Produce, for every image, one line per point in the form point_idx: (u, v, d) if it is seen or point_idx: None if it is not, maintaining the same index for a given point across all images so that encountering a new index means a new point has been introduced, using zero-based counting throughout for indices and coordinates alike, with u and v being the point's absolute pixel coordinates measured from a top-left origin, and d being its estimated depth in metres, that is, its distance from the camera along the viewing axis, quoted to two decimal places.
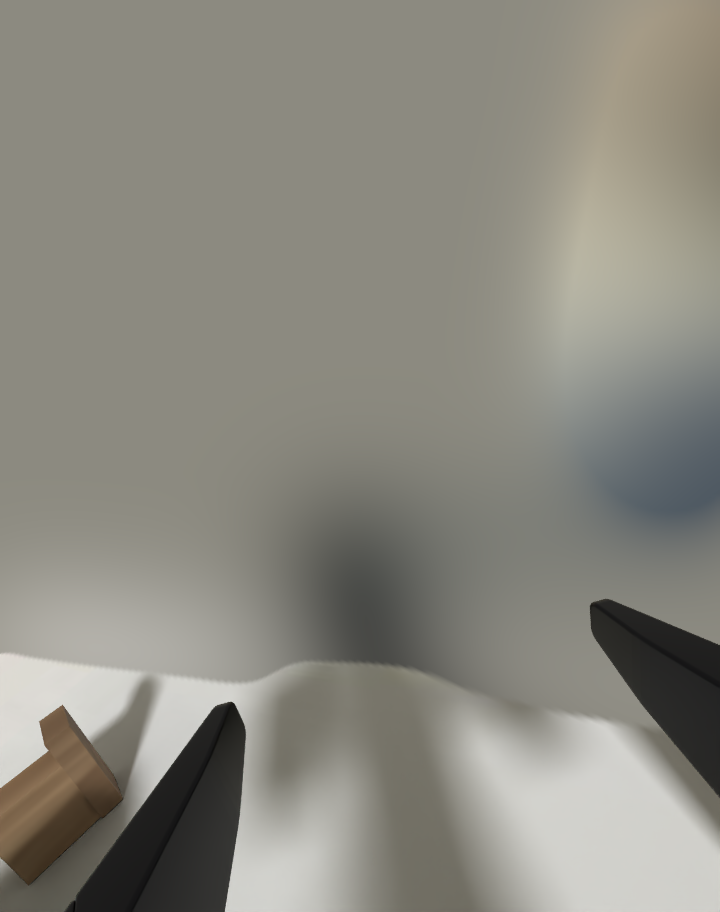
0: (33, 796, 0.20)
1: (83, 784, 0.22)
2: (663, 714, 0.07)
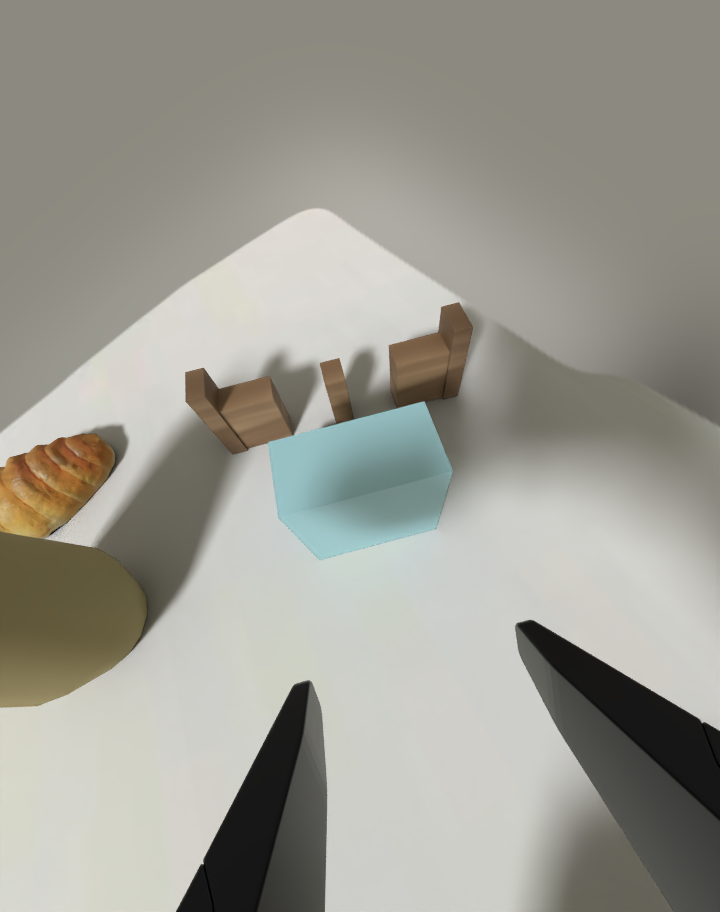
0: (427, 362, 0.25)
1: (450, 373, 0.26)
2: (573, 740, 0.07)
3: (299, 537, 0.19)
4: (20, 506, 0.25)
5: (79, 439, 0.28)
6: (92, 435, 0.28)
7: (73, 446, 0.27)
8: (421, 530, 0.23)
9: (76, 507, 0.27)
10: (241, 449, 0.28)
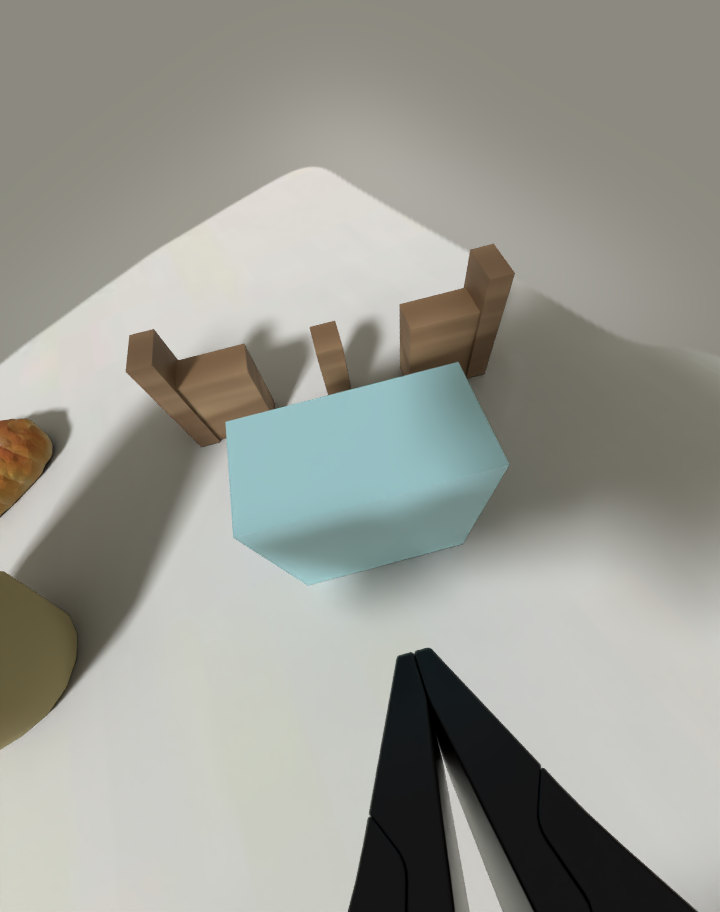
0: (450, 325, 0.19)
1: (479, 341, 0.20)
2: (451, 774, 0.07)
3: (274, 561, 0.13)
4: None
5: (3, 425, 0.22)
6: (22, 420, 0.23)
7: None
8: (443, 546, 0.18)
9: None
10: (212, 440, 0.22)
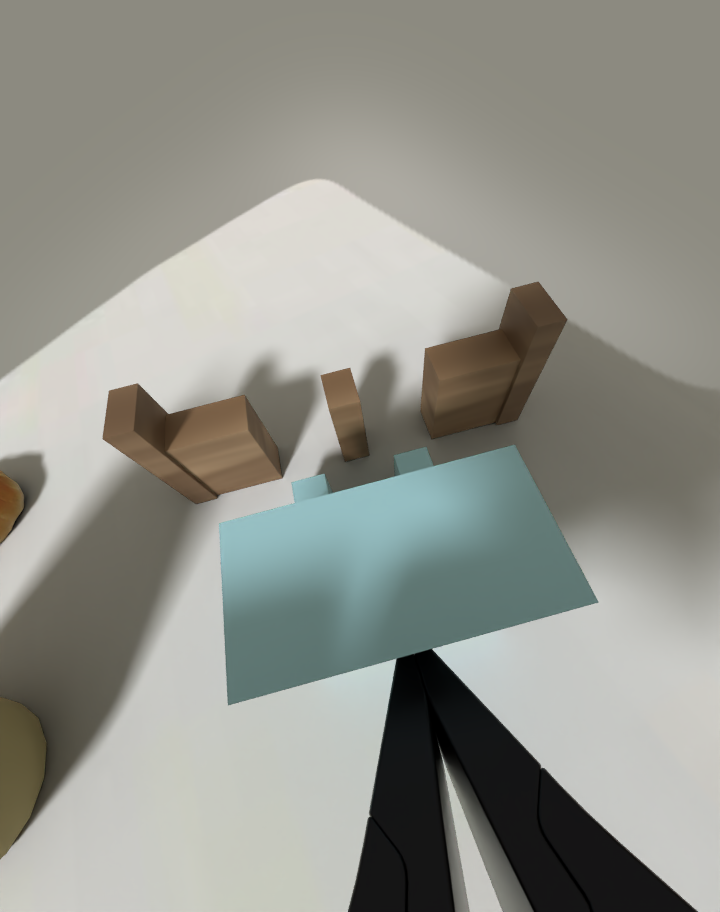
0: (485, 374, 0.16)
1: (516, 389, 0.17)
2: (451, 774, 0.07)
3: None
4: None
5: None
6: None
7: None
8: None
9: None
10: (208, 497, 0.19)
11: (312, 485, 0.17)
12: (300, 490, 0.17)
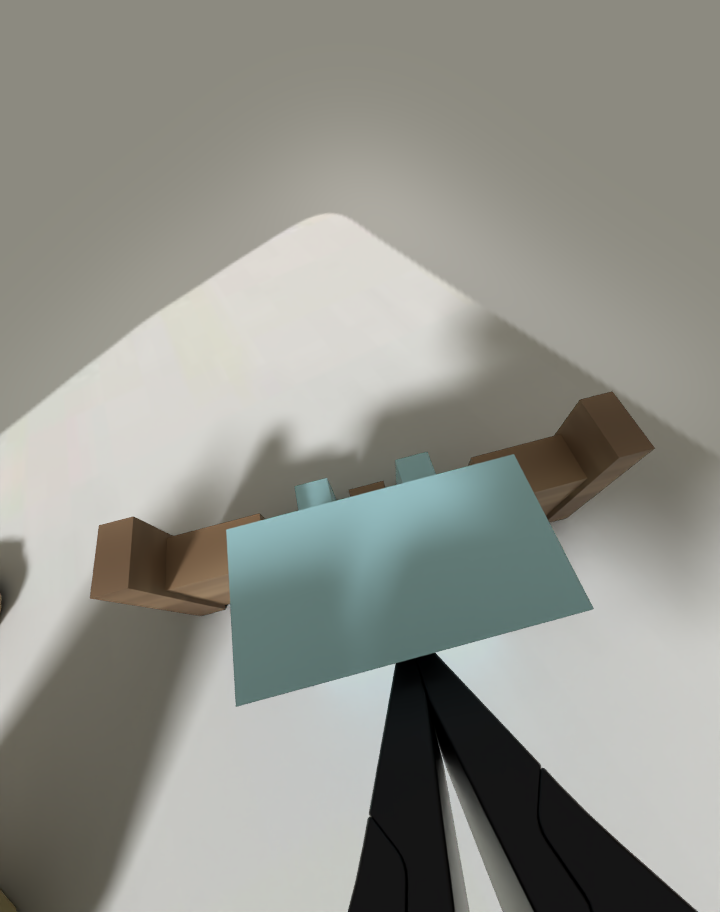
0: (543, 492, 0.14)
1: (575, 500, 0.15)
2: (451, 774, 0.07)
3: None
4: None
5: None
6: None
7: None
8: None
9: None
10: (215, 610, 0.17)
11: (315, 489, 0.17)
12: (303, 494, 0.17)
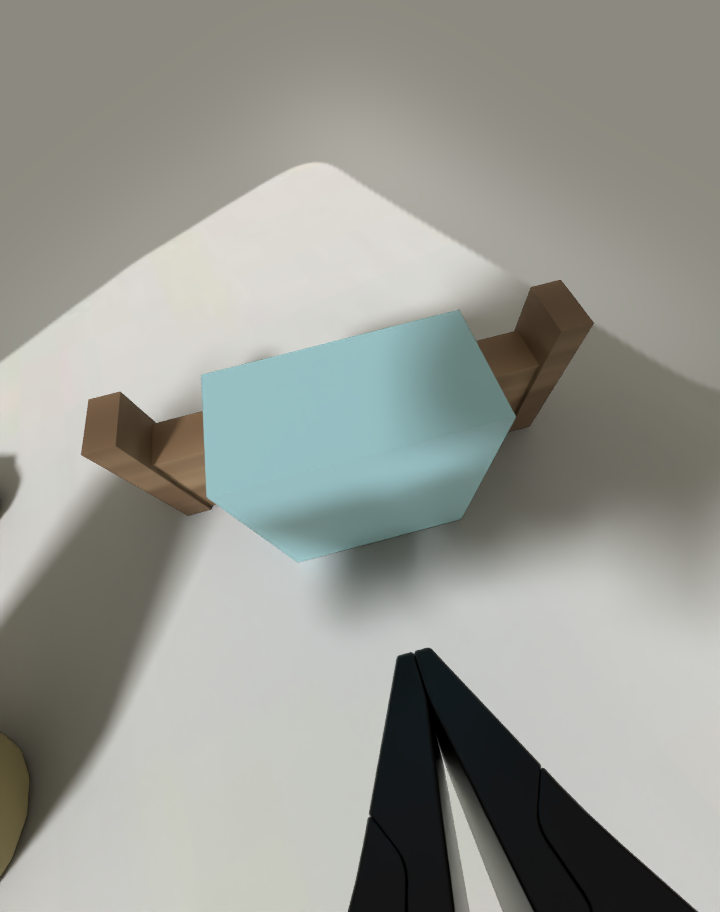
0: (500, 381, 0.15)
1: (531, 396, 0.16)
2: (451, 774, 0.07)
3: (257, 531, 0.12)
4: None
5: None
6: None
7: None
8: (441, 521, 0.17)
9: None
10: (200, 508, 0.18)
11: None
12: None
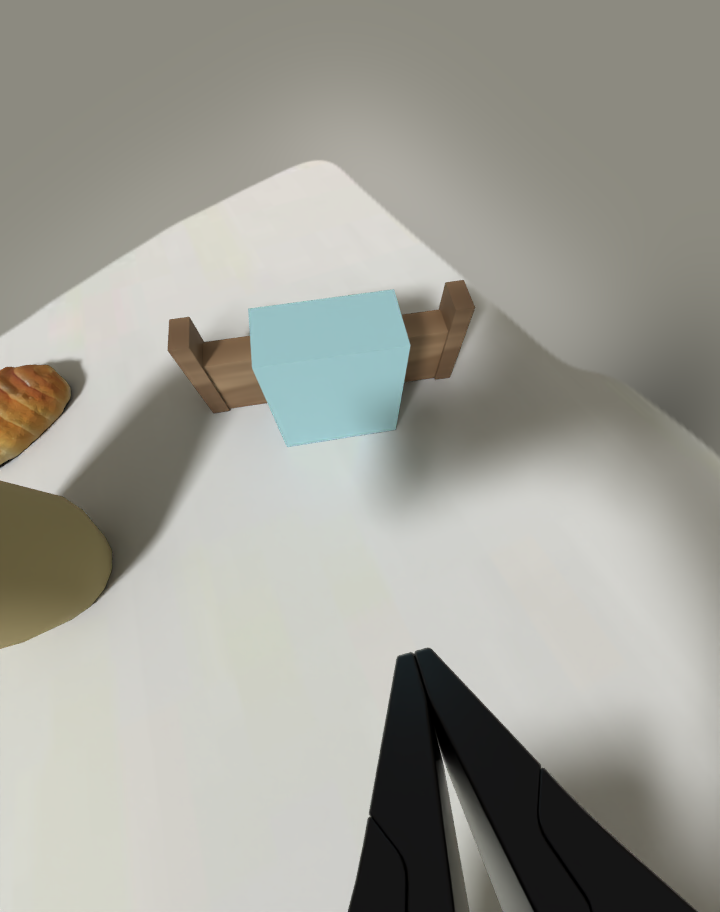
0: (424, 339, 0.24)
1: (446, 353, 0.25)
2: (451, 774, 0.07)
3: (270, 404, 0.21)
4: None
5: (30, 369, 0.26)
6: (44, 366, 0.27)
7: (24, 376, 0.26)
8: (382, 428, 0.26)
9: (28, 440, 0.26)
10: (223, 408, 0.27)
11: None
12: None
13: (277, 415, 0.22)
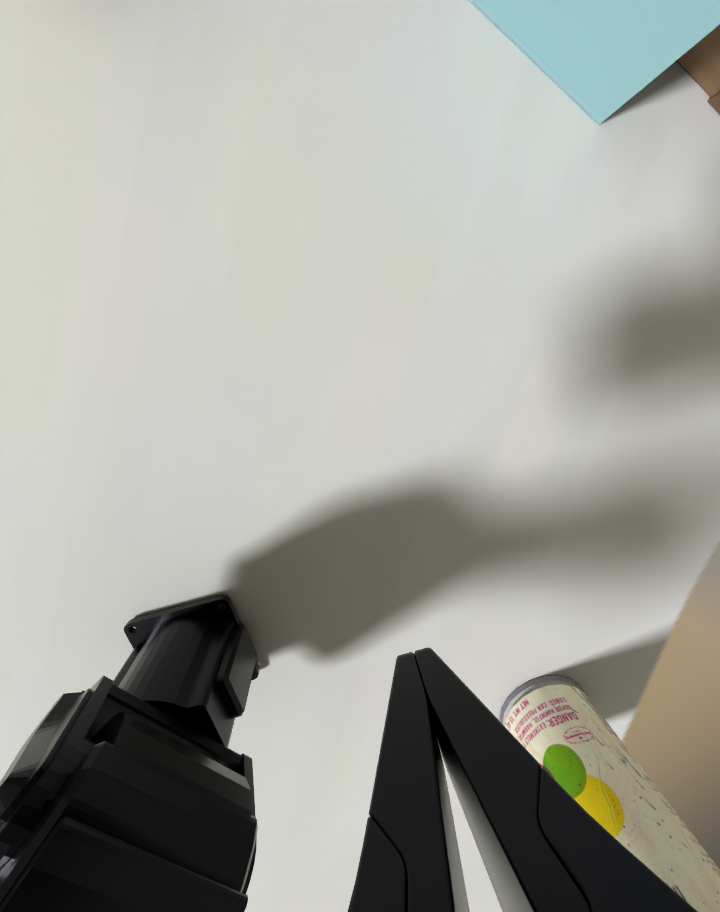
0: None
1: None
2: (451, 774, 0.07)
3: None
4: None
5: None
6: None
7: None
8: (591, 102, 0.17)
9: None
10: None
11: None
12: None
13: None
